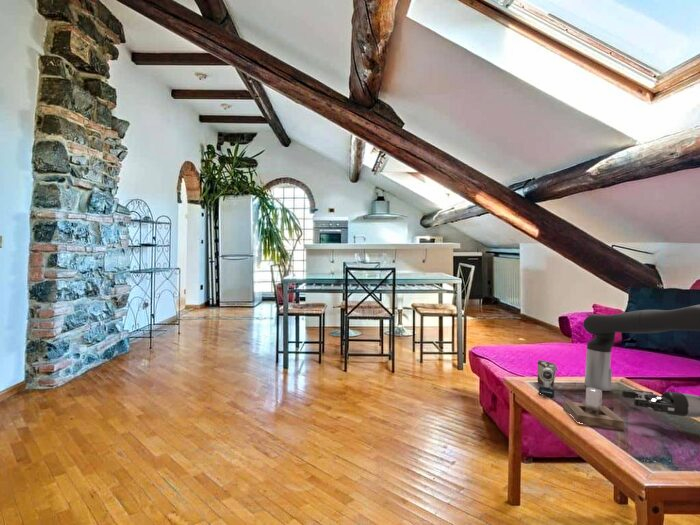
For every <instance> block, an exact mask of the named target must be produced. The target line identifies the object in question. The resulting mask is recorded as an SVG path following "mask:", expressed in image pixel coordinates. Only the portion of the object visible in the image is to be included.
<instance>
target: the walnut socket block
mask: <svg viewBox="0 0 700 525" xmlns="http://www.w3.org/2000/svg"><path fill="white" fill-rule="evenodd" d="M563 409H565V410H566V411H567V412H568V413H569V414H571V415H572V416H573V417H574V419H575V420H576V421H577V422H580V423H583V424H586V425H585V426H589V427H595V428H604V429H610V430H619V431H624V429H625V428H624V427H625V421H624V420H623V419H622V418H621V417H620V416H618V415H617V414H616V413H615V412H614V411H612V410H611V409H610V408H608V407H607V406H605V405H601V415H598V414H591V413H585V402H583V403H582V402H577V401H569V400H563ZM565 410H564V411H565ZM566 411H565V412H566ZM567 412H566V413H567ZM568 413H567V414H568ZM569 414H568V415H569Z"/></svg>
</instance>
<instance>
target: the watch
mask: <svg viewBox="0 0 700 525" xmlns="http://www.w3.org/2000/svg"><path fill="white" fill-rule="evenodd" d="M541 377H542V381H543V382H544V385H541V384H539V387H538V394H539V393H541V394H543V395H542V396H544V395H546V397H549V396H550V398H555V388H556V387H555V386H553V387H551V386H550V384H551V383H552V381H553V379H554V378H555V379H556V375H555V376H554V373H553V371H552V370H551V368H546V367H545V369H543V371H542V372H541ZM555 379H554V380H555Z"/></svg>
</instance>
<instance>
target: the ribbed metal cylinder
mask: <svg viewBox="0 0 700 525" xmlns="http://www.w3.org/2000/svg"><path fill="white" fill-rule="evenodd" d="M602 398H603V391H601V390H599V389H596V388H591V387H585V398H584V399H585V400H584V403H585V413H591V414H598V415H601V406H602V400H603V399H602Z"/></svg>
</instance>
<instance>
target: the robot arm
mask: <svg viewBox="0 0 700 525" xmlns="http://www.w3.org/2000/svg"><path fill="white" fill-rule="evenodd" d="M582 325H583V328H584V330H585V331H586V332H587V333H588V334H591V335H593V336H594V337H593V338H592V339H591V340H589V341H588V342H587V344H586V356H585V357H586V358H585V371H584V372H585V373H584V386H585V388H587V387H591V388H596V389H599V390H601V391H602V392H603V391H605V392H607V391H610V392H611V391H612V379H613V378H612V374H613V370H612V368H611V360H612V359H611V358H612V349H613V346H614V344H615V337H616V333H625V334H655V333H656V334H657V333H664V332H669V331H691V332H693V331H694V332H700V304H696V305H690V306H687V307H686V306H685V307H682V308H681V307H680V308H675V309H670V310H669V309H668V310H666V309H665V310H664V309H641V310H639V309H638V310H632V311H627V312H620V313H616V314H615V313H614V314H590V315H588V316H587V317H585V318H584V321H583V324H582ZM621 395H622V397H623V398H627V399H633V405H634V406H636V407H641V408H648V409H650V410H653V411H654V412H659V413H666V414H668V415H670V416H678V417H685V418H693V419H694V418H697V419H698V418H700V395H695V394H691V393H683V392H675V391H664V392H663V393H662V394H661V395H659V394H657V393H656V394H655V393H654V392H653V391H646V390H645V391H644V390H637V389H633V391H631V390H630V391H629V390H628V391H627V390H622V394H621Z"/></svg>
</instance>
